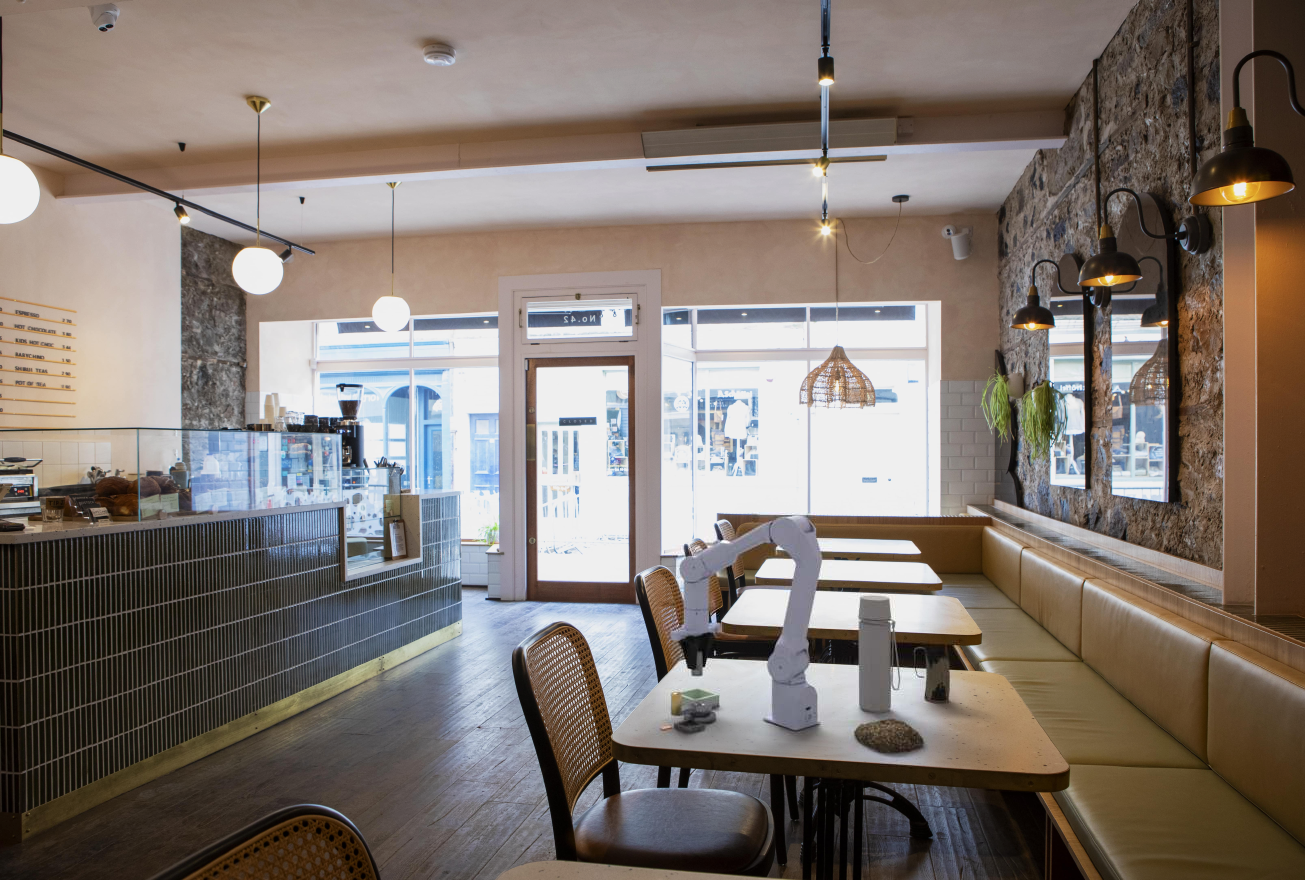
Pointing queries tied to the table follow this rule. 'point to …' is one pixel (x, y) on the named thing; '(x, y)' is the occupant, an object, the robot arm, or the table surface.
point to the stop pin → (698, 665)
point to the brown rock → (889, 736)
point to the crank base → (693, 723)
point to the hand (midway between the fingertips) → (696, 667)
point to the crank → (689, 706)
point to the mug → (936, 676)
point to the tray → (699, 696)
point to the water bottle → (875, 654)
